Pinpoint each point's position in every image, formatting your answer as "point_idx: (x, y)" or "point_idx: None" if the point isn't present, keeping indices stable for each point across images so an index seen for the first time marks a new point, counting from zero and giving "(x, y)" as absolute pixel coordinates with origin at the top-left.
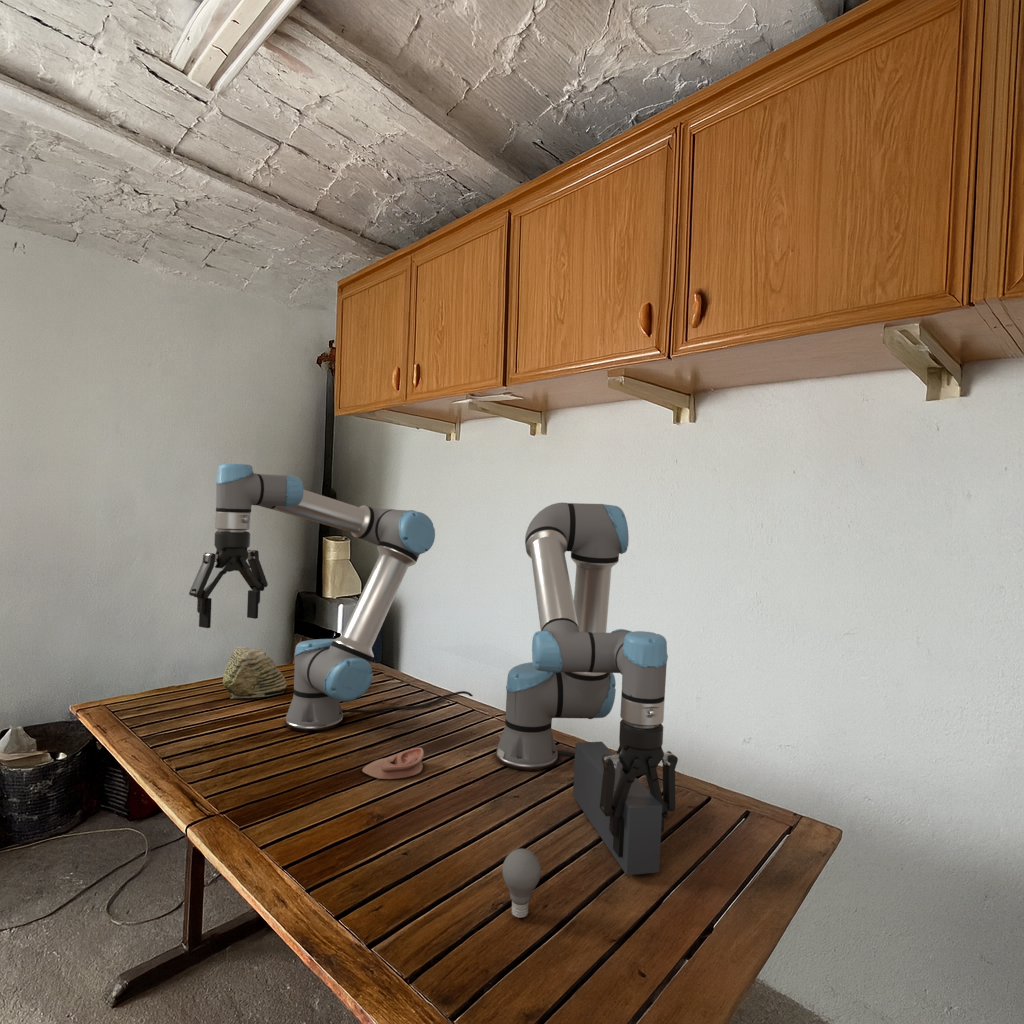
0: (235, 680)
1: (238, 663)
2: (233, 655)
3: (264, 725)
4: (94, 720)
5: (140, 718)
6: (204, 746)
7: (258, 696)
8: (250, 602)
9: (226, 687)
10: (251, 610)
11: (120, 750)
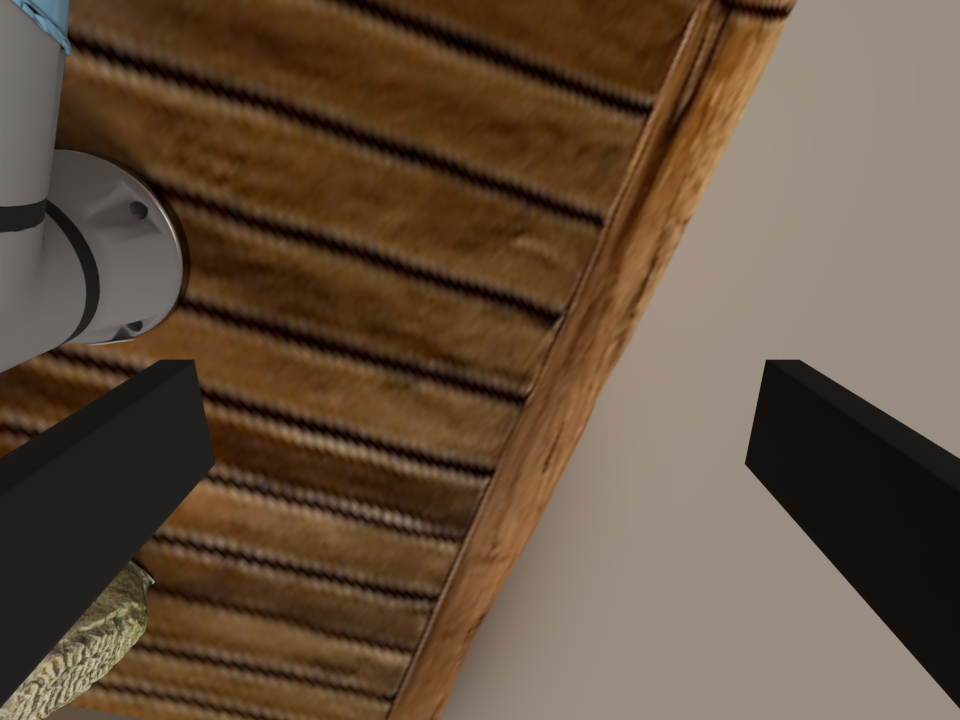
0: (121, 604)
1: (73, 650)
2: (47, 706)
3: (219, 361)
4: (448, 686)
5: (384, 630)
6: (419, 378)
7: None
8: (101, 534)
9: (146, 611)
10: (161, 453)
11: (537, 513)
